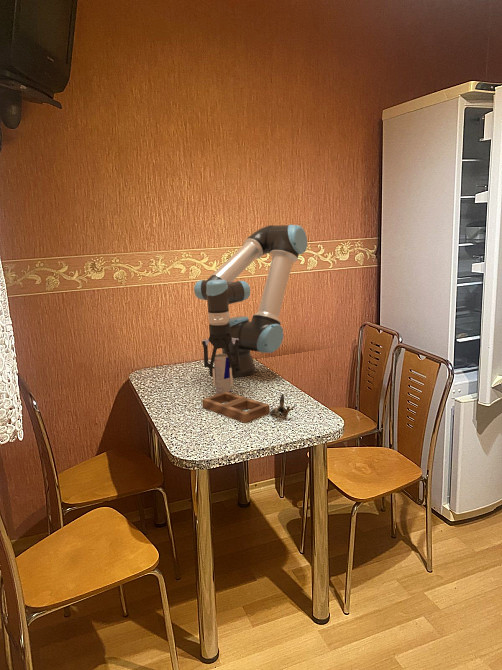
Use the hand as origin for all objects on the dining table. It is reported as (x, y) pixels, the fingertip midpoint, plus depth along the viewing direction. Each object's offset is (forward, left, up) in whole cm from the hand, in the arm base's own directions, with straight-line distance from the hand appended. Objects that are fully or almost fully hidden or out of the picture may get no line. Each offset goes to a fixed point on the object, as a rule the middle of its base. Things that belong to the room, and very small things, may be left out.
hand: (223, 384), depth 205 cm
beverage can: (0, 0, -4) cm, 4 cm away
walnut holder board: (+9, +16, -4) cm, 19 cm away
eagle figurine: (+2, +31, -4) cm, 31 cm away
